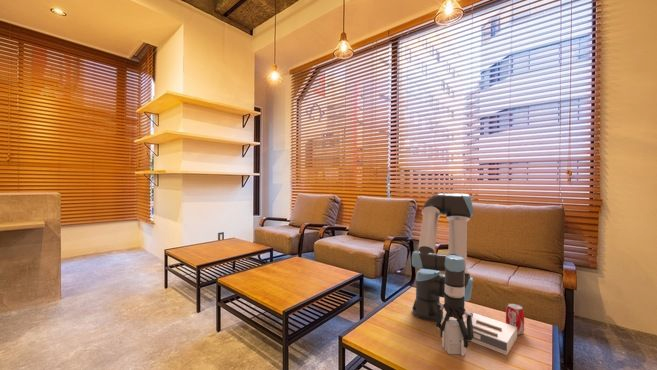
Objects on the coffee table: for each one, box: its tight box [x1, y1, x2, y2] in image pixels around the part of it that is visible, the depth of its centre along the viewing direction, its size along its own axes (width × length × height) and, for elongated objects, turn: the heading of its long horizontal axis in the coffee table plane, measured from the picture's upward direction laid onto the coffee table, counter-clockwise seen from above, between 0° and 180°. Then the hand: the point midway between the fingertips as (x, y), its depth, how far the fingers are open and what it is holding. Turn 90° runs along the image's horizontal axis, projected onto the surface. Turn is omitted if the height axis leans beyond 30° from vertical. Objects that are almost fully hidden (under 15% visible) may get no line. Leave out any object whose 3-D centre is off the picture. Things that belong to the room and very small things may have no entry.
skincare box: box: [443, 319, 463, 355], centre depth 114 cm, size 6×4×12 cm
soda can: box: [505, 302, 525, 336], centre depth 128 cm, size 7×7×12 cm
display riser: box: [464, 312, 518, 356], centre depth 123 cm, size 18×18×6 cm
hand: (453, 349), depth 114 cm, fingers closed on skincare box, 7 cm apart
